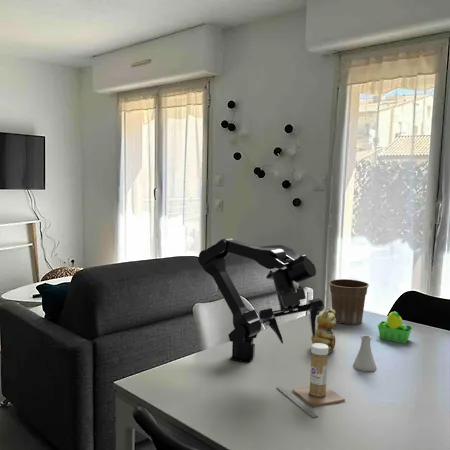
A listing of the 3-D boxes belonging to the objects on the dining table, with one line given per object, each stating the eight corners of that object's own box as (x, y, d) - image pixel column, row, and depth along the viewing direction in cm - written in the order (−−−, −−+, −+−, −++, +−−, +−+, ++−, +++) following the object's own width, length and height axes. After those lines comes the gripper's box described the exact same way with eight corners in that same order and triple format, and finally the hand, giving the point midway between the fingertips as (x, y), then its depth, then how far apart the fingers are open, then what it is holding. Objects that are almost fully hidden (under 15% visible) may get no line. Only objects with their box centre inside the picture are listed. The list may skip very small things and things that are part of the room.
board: (292, 391, 132) (292, 389, 132) (323, 386, 136) (323, 384, 136) (312, 407, 123) (312, 405, 123) (344, 401, 127) (345, 399, 127)
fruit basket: (412, 339, 180) (414, 309, 179) (407, 345, 172) (409, 315, 171) (381, 333, 186) (383, 305, 185) (375, 339, 178) (376, 309, 177)
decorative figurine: (333, 355, 160) (335, 311, 159) (308, 352, 163) (310, 309, 161) (336, 346, 169) (338, 305, 168) (313, 343, 172) (314, 302, 171)
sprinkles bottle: (305, 393, 129) (308, 345, 128) (314, 388, 133) (316, 341, 131) (320, 399, 126) (323, 349, 125) (329, 393, 130) (331, 345, 128)
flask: (377, 373, 146) (379, 341, 145) (353, 371, 148) (354, 339, 147) (375, 364, 153) (376, 334, 153) (351, 362, 155) (353, 332, 154)
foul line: (276, 388, 134) (276, 387, 134) (281, 387, 134) (281, 386, 134) (312, 418, 117) (312, 416, 117) (317, 417, 118) (317, 415, 118)
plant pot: (345, 328, 192) (347, 288, 190) (319, 317, 206) (320, 280, 204) (375, 323, 199) (377, 285, 198) (348, 313, 213) (350, 278, 212)
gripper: (254, 286, 136) (266, 341, 130) (318, 273, 136) (333, 327, 130) (254, 297, 146) (266, 348, 140) (314, 285, 147) (328, 335, 140)
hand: (298, 340), depth 137 cm, fingers open, 9 cm apart
